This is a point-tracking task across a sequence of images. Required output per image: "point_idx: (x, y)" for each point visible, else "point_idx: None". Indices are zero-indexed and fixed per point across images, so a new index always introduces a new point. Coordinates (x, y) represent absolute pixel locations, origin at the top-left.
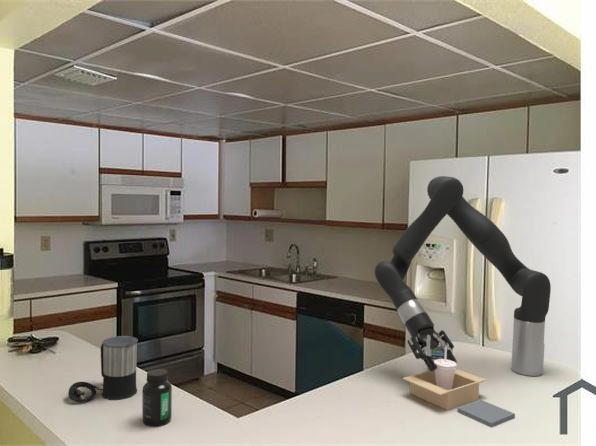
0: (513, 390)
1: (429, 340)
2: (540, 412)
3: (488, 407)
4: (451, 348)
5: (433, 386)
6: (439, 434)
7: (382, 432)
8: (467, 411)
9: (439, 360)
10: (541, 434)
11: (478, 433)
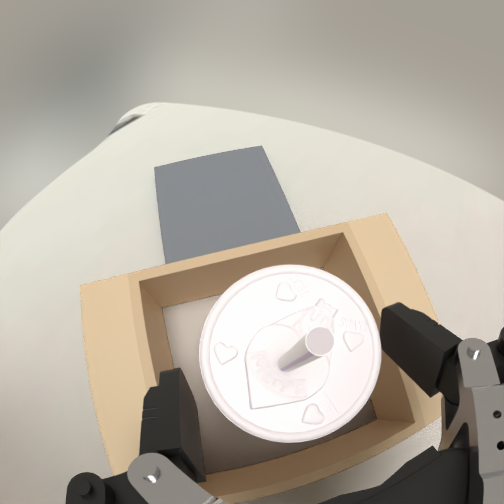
0: (7, 317)
1: (490, 473)
2: (75, 186)
3: (192, 212)
4: (108, 484)
5: (385, 285)
6: (398, 168)
7: (489, 213)
8: (283, 207)
9: (312, 407)
10: (177, 117)
11: (312, 144)
